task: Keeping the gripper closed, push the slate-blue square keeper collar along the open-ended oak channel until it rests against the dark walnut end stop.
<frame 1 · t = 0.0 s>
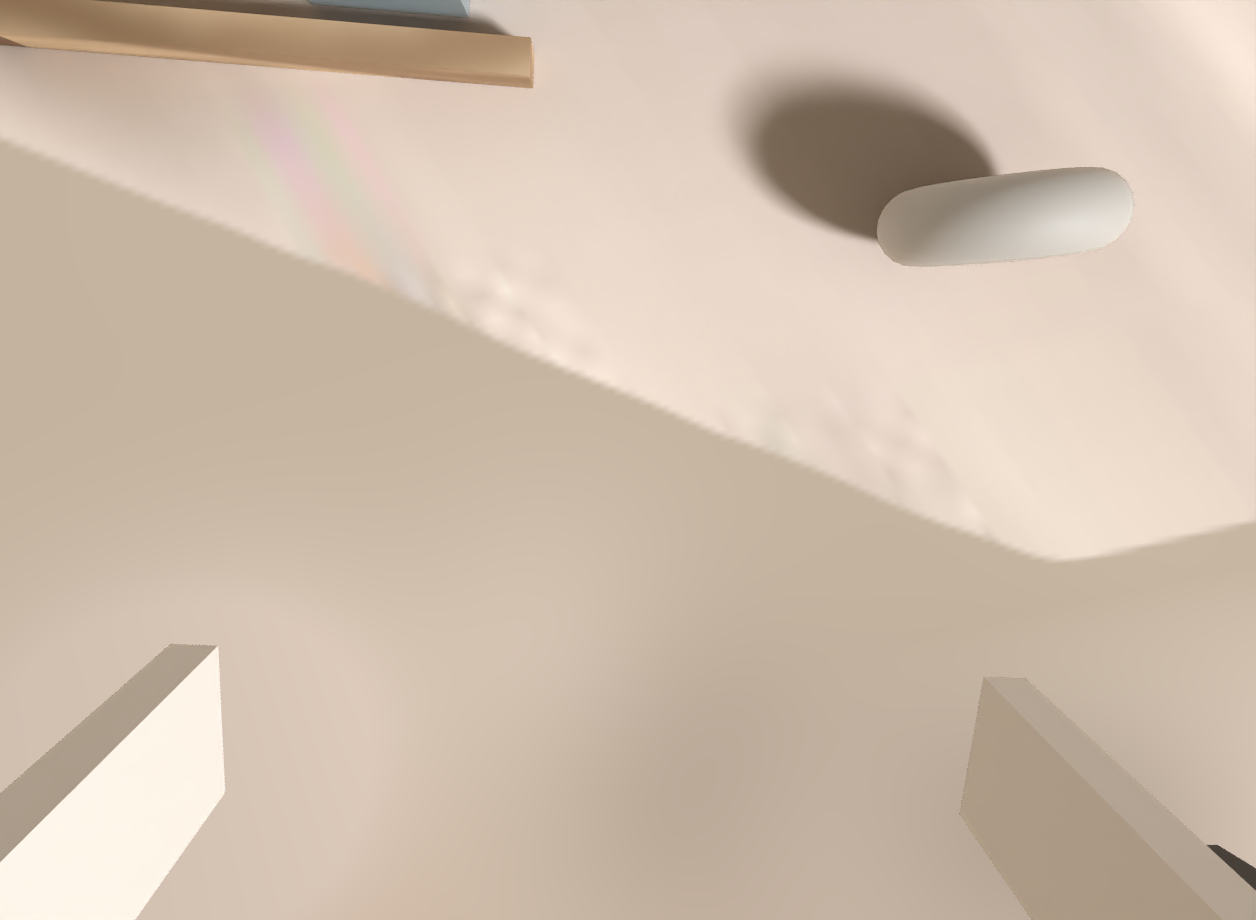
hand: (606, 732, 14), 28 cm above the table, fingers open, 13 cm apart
donut: (946, 226, 40), on the table
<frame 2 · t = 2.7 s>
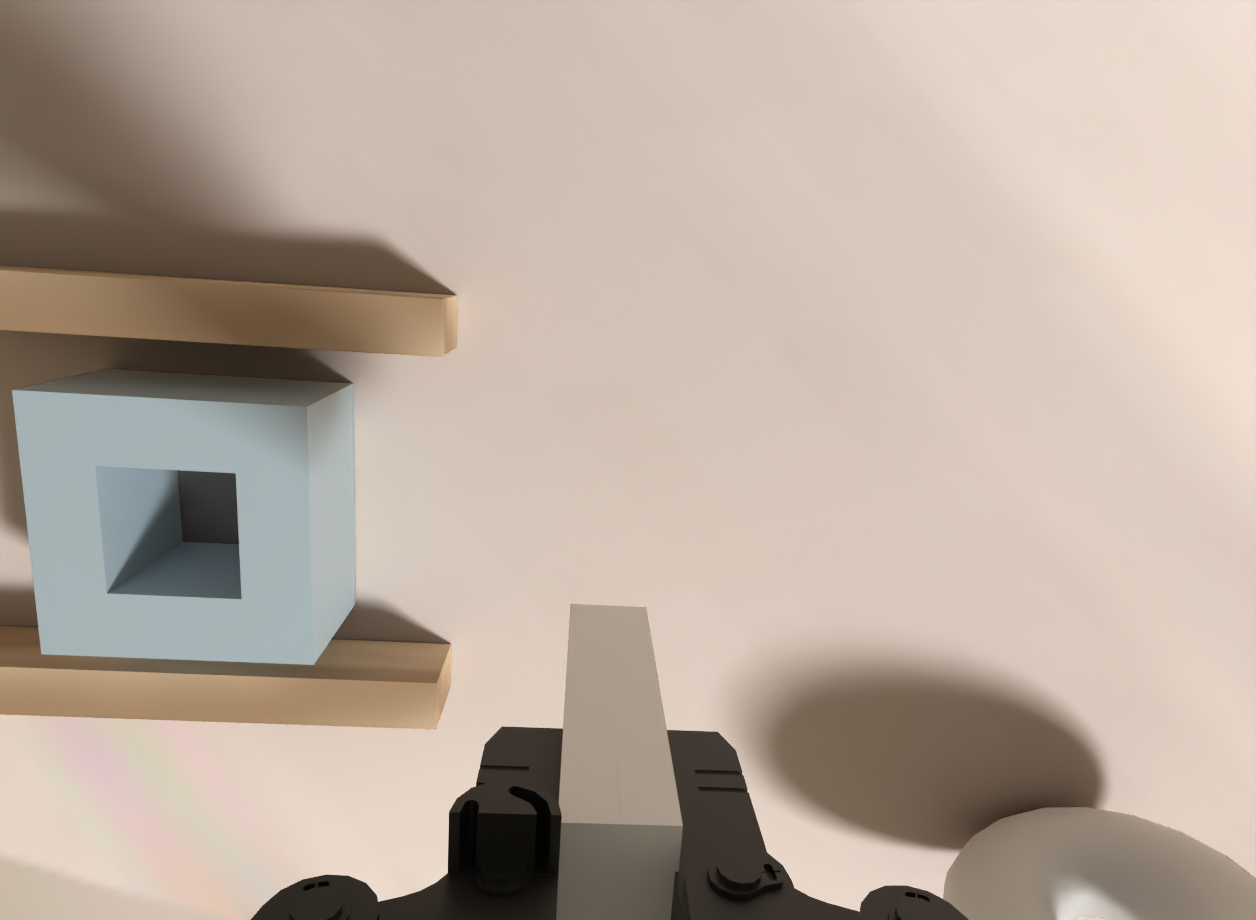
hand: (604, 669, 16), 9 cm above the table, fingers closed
keeper: (236, 491, 24), resting in track
donut: (1029, 825, 29), on the table
track: (65, 482, 24), on the table
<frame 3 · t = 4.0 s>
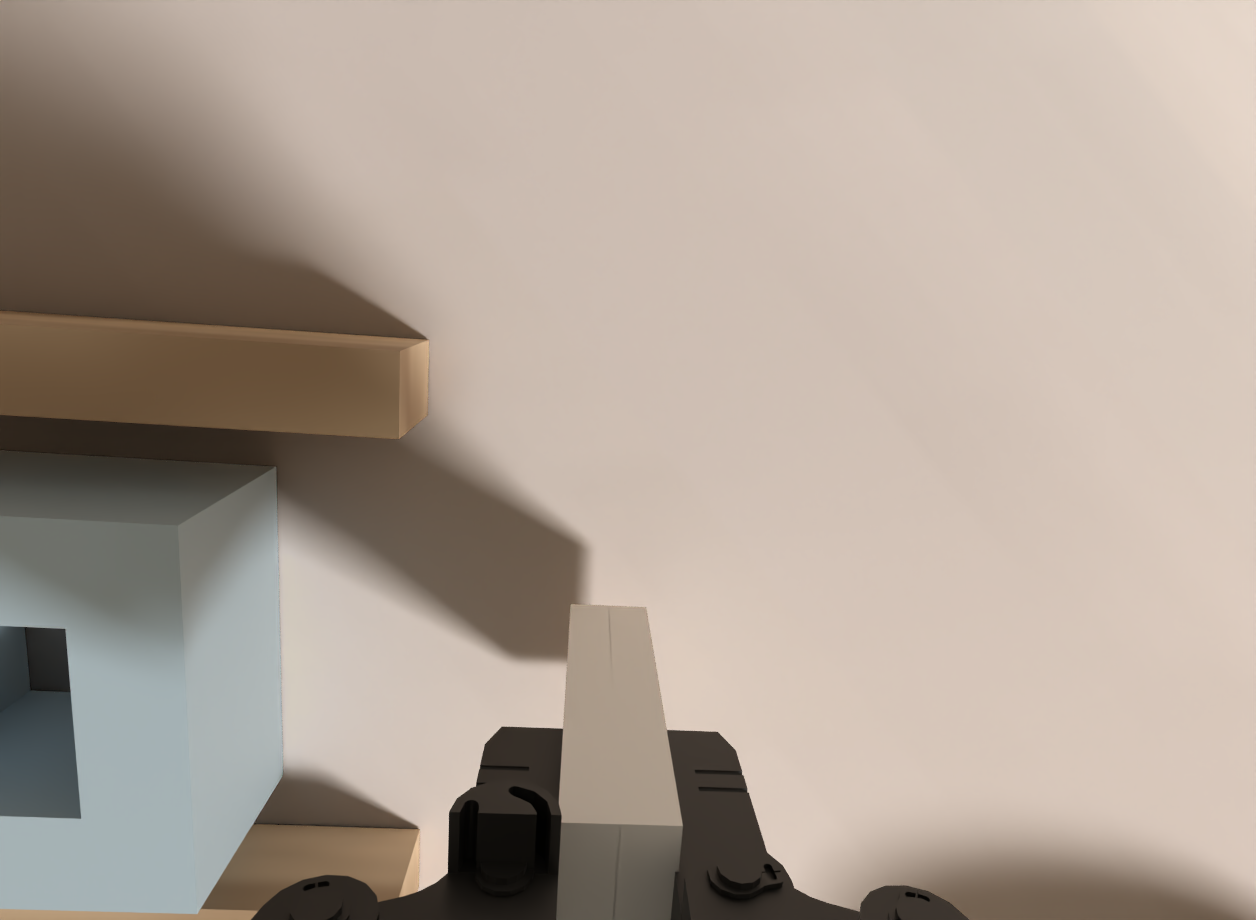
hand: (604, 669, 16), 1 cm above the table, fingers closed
keeper: (108, 619, 17), resting in track
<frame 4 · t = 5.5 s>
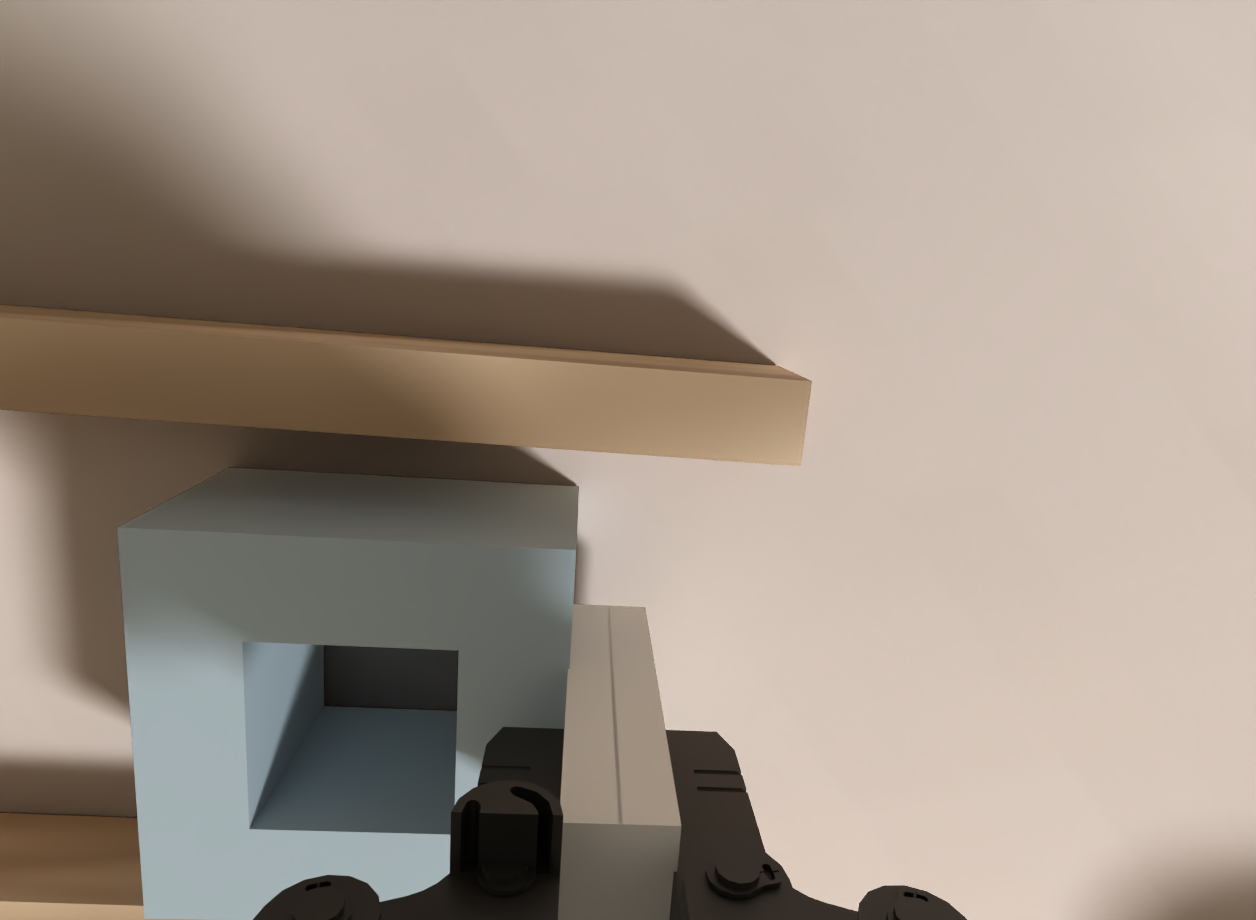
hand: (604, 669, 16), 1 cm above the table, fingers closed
keeper: (404, 636, 17), resting in track, touching gripper
track: (201, 621, 17), on the table
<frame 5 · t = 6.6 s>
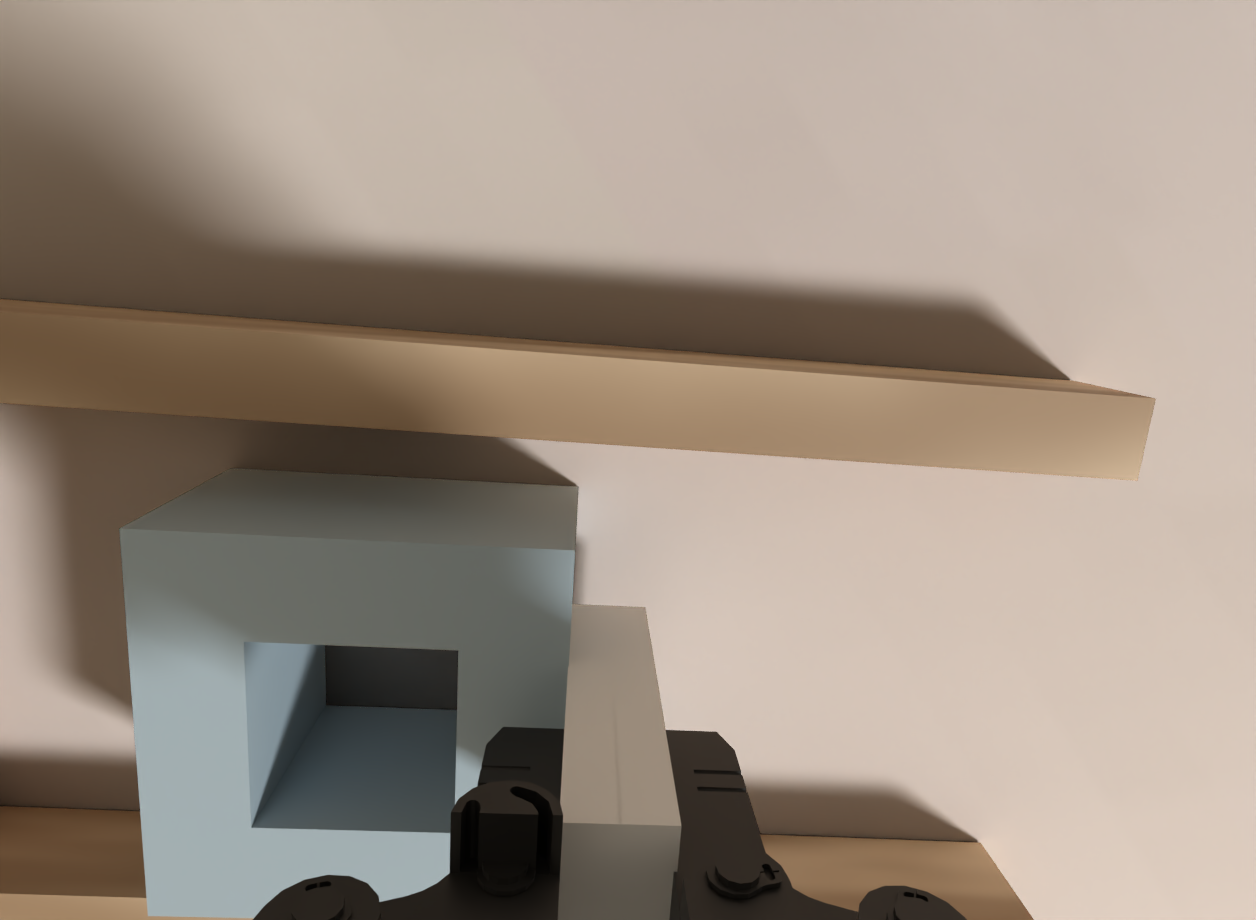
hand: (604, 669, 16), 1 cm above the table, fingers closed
keeper: (405, 636, 17), resting in track, touching gripper
track: (500, 630, 17), on the table
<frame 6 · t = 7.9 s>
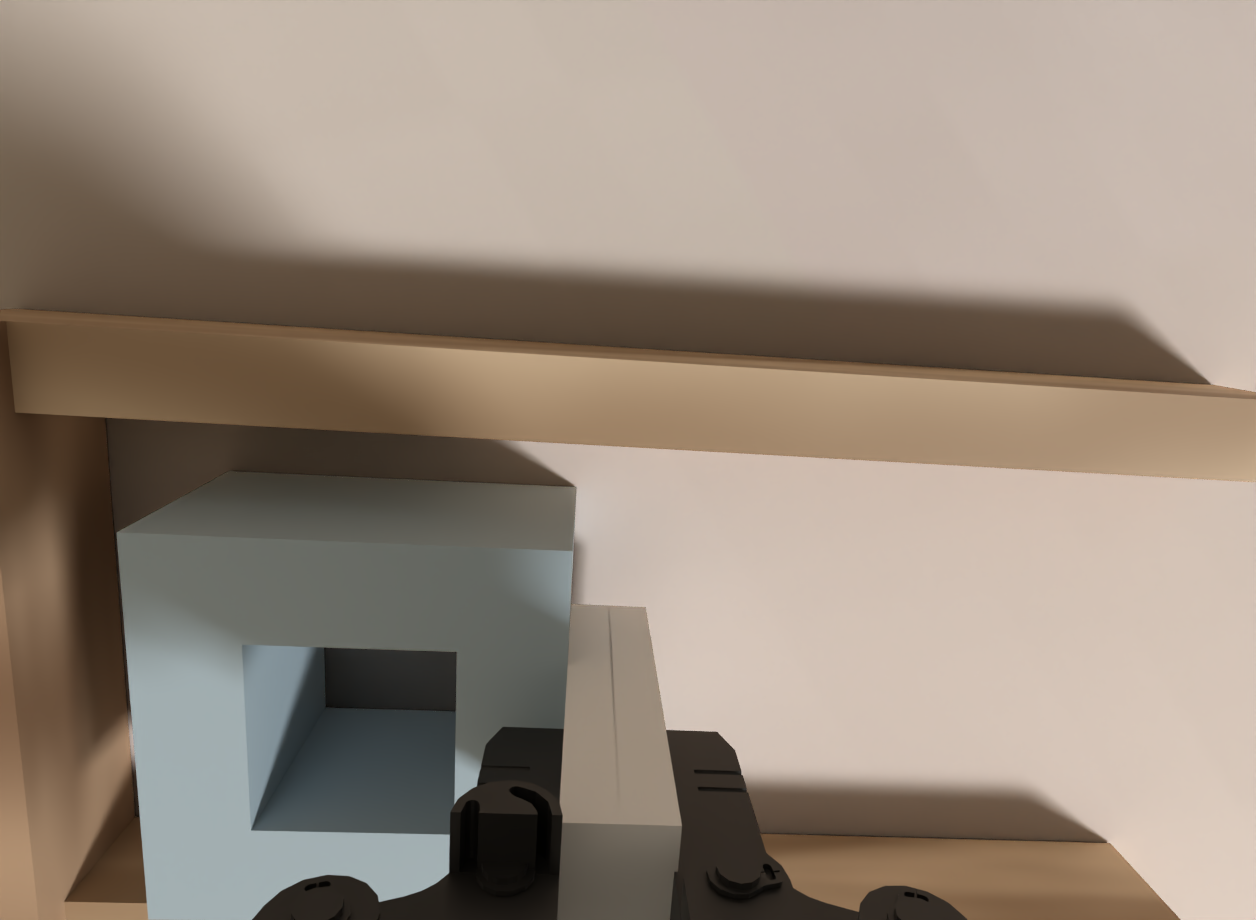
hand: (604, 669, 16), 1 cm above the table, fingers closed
keeper: (405, 637, 17), resting in track, touching gripper
track: (644, 639, 18), on the table
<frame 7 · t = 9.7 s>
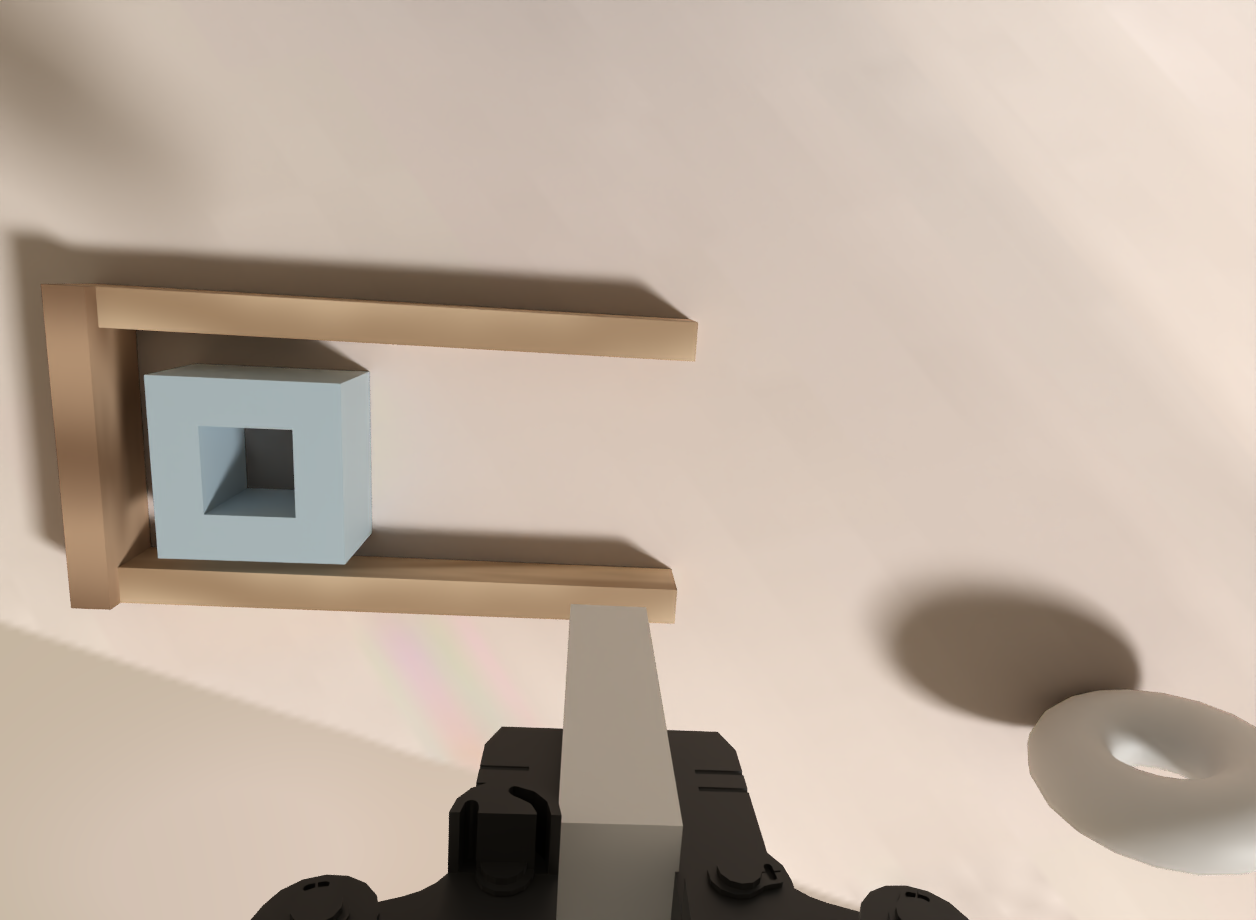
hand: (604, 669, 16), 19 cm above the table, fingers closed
keeper: (286, 450, 34), resting in track
donut: (1085, 707, 39), on the table
track: (410, 452, 34), on the table
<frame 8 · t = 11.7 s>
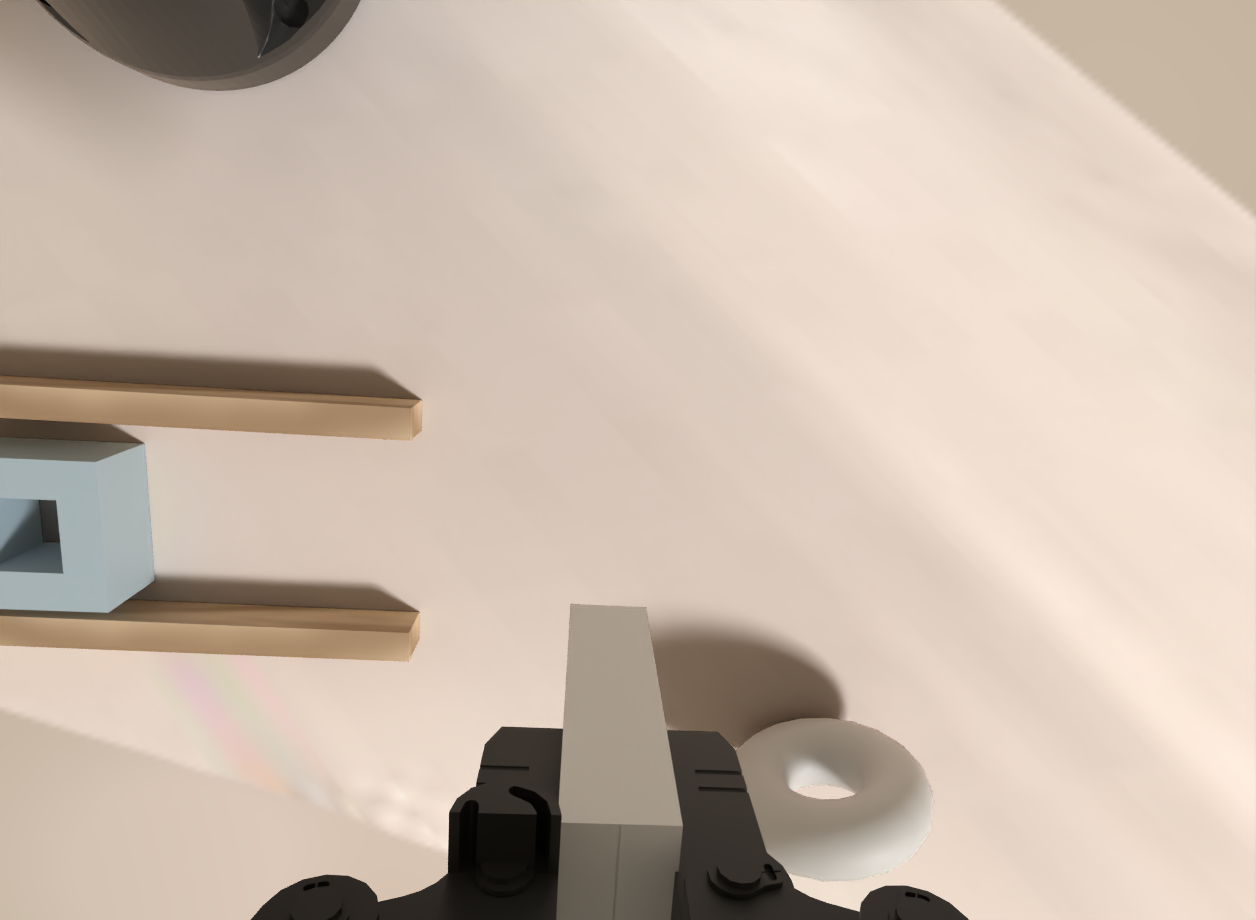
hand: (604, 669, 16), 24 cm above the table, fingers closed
keeper: (75, 510, 40), resting in track
donut: (797, 733, 44), on the table
track: (184, 511, 40), on the table
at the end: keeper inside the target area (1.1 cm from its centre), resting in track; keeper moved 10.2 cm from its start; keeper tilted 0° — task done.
